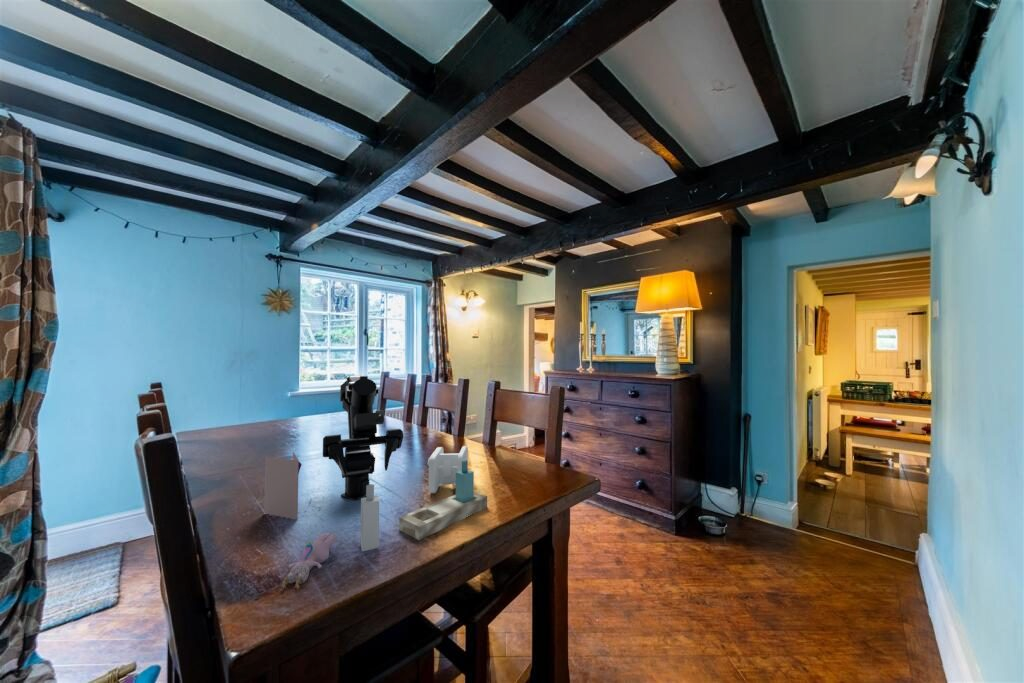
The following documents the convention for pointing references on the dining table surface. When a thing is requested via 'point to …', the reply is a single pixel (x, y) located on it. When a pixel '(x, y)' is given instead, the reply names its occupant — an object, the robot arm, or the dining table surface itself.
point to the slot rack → (439, 515)
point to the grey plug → (369, 520)
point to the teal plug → (464, 484)
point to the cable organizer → (444, 467)
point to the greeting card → (281, 486)
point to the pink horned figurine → (310, 559)
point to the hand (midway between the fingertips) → (366, 472)
